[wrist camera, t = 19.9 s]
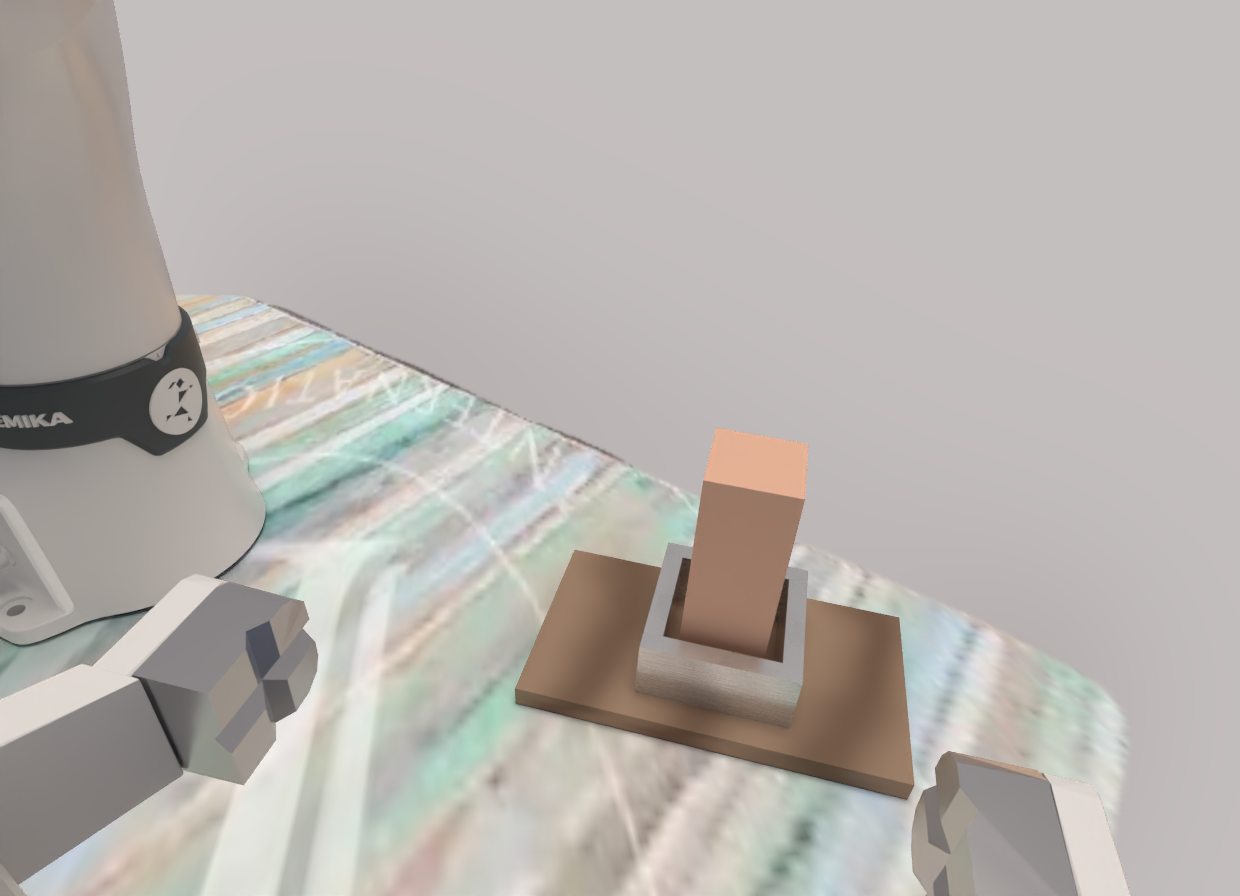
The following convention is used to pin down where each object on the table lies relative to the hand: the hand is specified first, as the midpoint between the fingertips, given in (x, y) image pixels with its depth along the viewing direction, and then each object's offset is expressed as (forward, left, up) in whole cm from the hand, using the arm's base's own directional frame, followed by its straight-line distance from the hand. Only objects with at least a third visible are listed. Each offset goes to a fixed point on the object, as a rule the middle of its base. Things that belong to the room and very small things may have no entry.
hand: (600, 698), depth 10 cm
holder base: (+2, +23, -26) cm, 35 cm away
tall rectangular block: (+2, +23, -25) cm, 34 cm away
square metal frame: (+2, +23, -25) cm, 34 cm away
